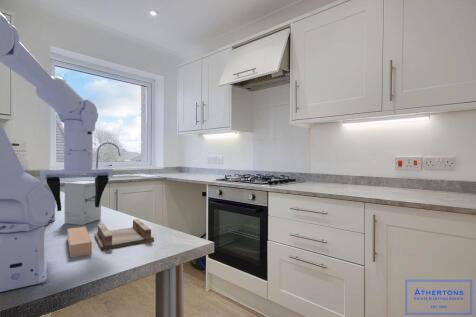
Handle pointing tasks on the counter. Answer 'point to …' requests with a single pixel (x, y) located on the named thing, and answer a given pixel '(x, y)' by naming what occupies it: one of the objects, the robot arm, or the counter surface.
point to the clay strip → (79, 242)
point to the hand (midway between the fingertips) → (78, 208)
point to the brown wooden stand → (123, 235)
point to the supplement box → (81, 203)
